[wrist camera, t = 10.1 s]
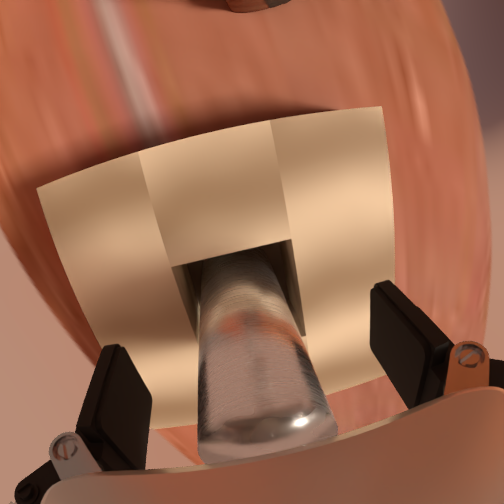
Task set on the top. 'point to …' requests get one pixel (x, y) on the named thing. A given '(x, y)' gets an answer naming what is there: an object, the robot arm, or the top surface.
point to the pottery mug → (253, 4)
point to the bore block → (232, 242)
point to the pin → (253, 365)
